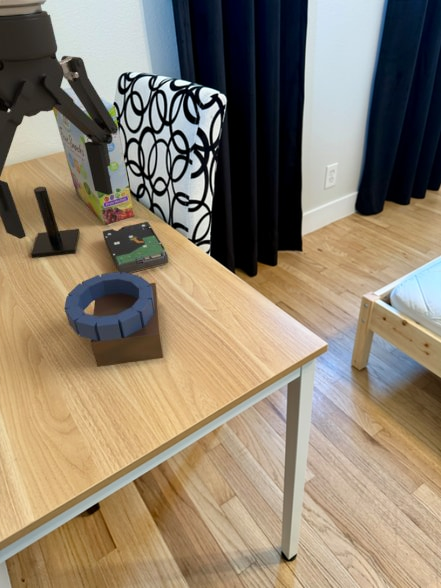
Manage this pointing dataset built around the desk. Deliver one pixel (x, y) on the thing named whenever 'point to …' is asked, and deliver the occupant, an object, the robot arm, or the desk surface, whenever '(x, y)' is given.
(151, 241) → the disk drive
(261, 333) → the desk surface
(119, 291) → the ring
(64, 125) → the snack box
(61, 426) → the desk surface
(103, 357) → the stand
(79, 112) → the robot arm
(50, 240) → the post
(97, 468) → the desk surface
